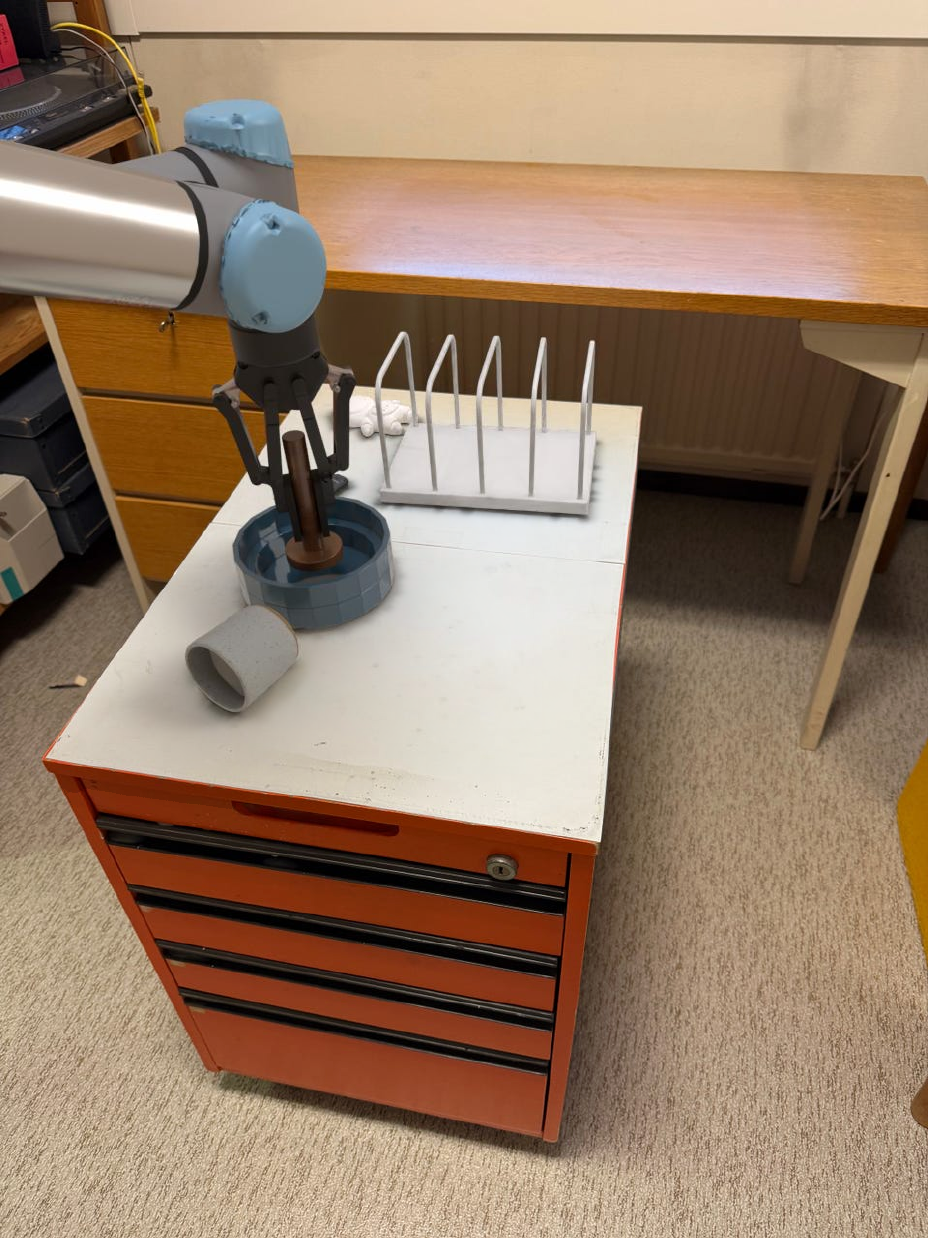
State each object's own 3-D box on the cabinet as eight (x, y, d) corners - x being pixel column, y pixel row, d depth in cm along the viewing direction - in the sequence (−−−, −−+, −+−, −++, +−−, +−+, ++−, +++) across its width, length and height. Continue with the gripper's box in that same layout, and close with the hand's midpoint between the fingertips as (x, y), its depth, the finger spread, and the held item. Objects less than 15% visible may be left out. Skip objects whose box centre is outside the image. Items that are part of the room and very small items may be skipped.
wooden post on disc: (289, 576, 91) (264, 456, 81) (284, 543, 95) (259, 425, 86) (347, 566, 92) (328, 445, 82) (339, 533, 96) (320, 415, 87)
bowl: (249, 646, 88) (237, 600, 84) (239, 553, 100) (228, 509, 96) (407, 616, 91) (402, 570, 87) (379, 529, 103) (374, 485, 99)
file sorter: (596, 443, 116) (604, 328, 106) (587, 518, 103) (596, 396, 93) (410, 433, 120) (401, 321, 109) (379, 504, 107) (366, 385, 97)
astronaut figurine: (388, 445, 117) (386, 424, 115) (320, 423, 123) (317, 403, 121) (427, 417, 123) (425, 397, 121) (360, 397, 128) (358, 378, 126)
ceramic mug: (310, 669, 85) (297, 608, 80) (254, 724, 80) (235, 662, 75) (229, 635, 90) (211, 576, 85) (170, 685, 85) (148, 625, 80)
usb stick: (302, 524, 104) (300, 513, 103) (285, 518, 105) (283, 507, 104) (351, 486, 110) (350, 475, 109) (335, 480, 111) (333, 470, 110)
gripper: (350, 281, 80) (377, 500, 95) (178, 304, 77) (234, 524, 93) (364, 313, 74) (390, 539, 90) (179, 338, 72) (239, 566, 87)
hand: (311, 531), depth 91 cm, fingers closed on wooden post on disc, 2 cm apart
